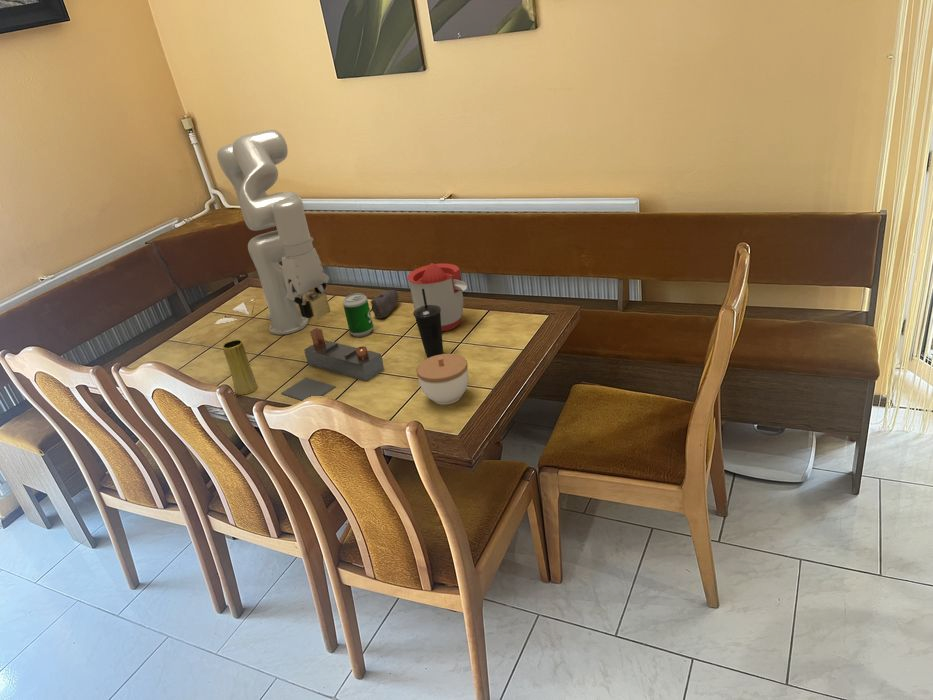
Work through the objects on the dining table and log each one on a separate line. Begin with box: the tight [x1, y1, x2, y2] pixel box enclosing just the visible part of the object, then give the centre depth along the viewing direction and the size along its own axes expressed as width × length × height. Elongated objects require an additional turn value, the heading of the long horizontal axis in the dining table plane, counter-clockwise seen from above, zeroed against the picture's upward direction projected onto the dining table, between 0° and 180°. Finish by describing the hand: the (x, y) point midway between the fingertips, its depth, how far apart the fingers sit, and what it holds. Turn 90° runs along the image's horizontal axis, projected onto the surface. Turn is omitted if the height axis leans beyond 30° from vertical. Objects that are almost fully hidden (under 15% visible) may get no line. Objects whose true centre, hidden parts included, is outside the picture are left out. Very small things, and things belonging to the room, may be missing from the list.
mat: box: [280, 377, 336, 402], centre depth 194 cm, size 12×9×1 cm
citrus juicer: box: [407, 262, 468, 332], centre depth 216 cm, size 16×17×20 cm
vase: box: [222, 339, 259, 396], centre depth 197 cm, size 6×6×14 cm
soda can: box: [342, 292, 374, 338], centre depth 221 cm, size 8×8×12 cm
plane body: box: [303, 327, 385, 382], centre depth 202 cm, size 24×7×10 cm, turn 53°
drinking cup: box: [412, 289, 444, 359], centre depth 198 cm, size 8×8×20 cm
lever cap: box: [297, 291, 331, 320], centre depth 190 cm, size 7×5×6 cm
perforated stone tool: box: [370, 289, 399, 319], centre depth 234 cm, size 15×5×7 cm, turn 155°
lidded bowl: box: [415, 353, 469, 406], centre depth 178 cm, size 13×13×11 cm
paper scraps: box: [214, 298, 255, 324], centre depth 252 cm, size 26×14×2 cm, turn 149°
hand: (314, 312), depth 191 cm, fingers closed on lever cap, 4 cm apart
